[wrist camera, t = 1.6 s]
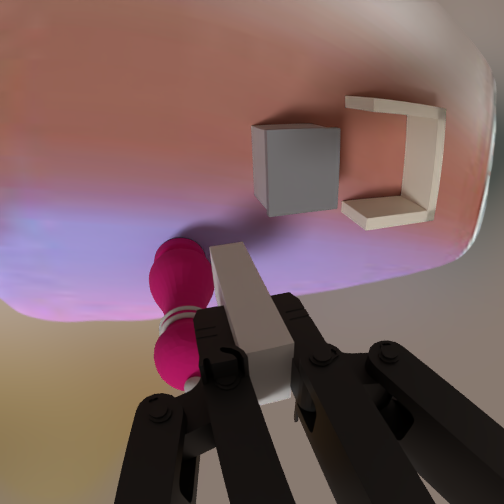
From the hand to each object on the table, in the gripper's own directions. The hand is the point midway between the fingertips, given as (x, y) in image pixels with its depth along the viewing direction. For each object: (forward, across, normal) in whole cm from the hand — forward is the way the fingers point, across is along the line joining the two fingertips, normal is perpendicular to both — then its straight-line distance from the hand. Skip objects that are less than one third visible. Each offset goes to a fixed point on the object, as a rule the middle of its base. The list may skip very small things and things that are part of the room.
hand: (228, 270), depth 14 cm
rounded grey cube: (+21, +10, 0) cm, 24 cm away
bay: (+21, +23, 0) cm, 31 cm away
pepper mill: (+22, -3, -11) cm, 24 cm away
